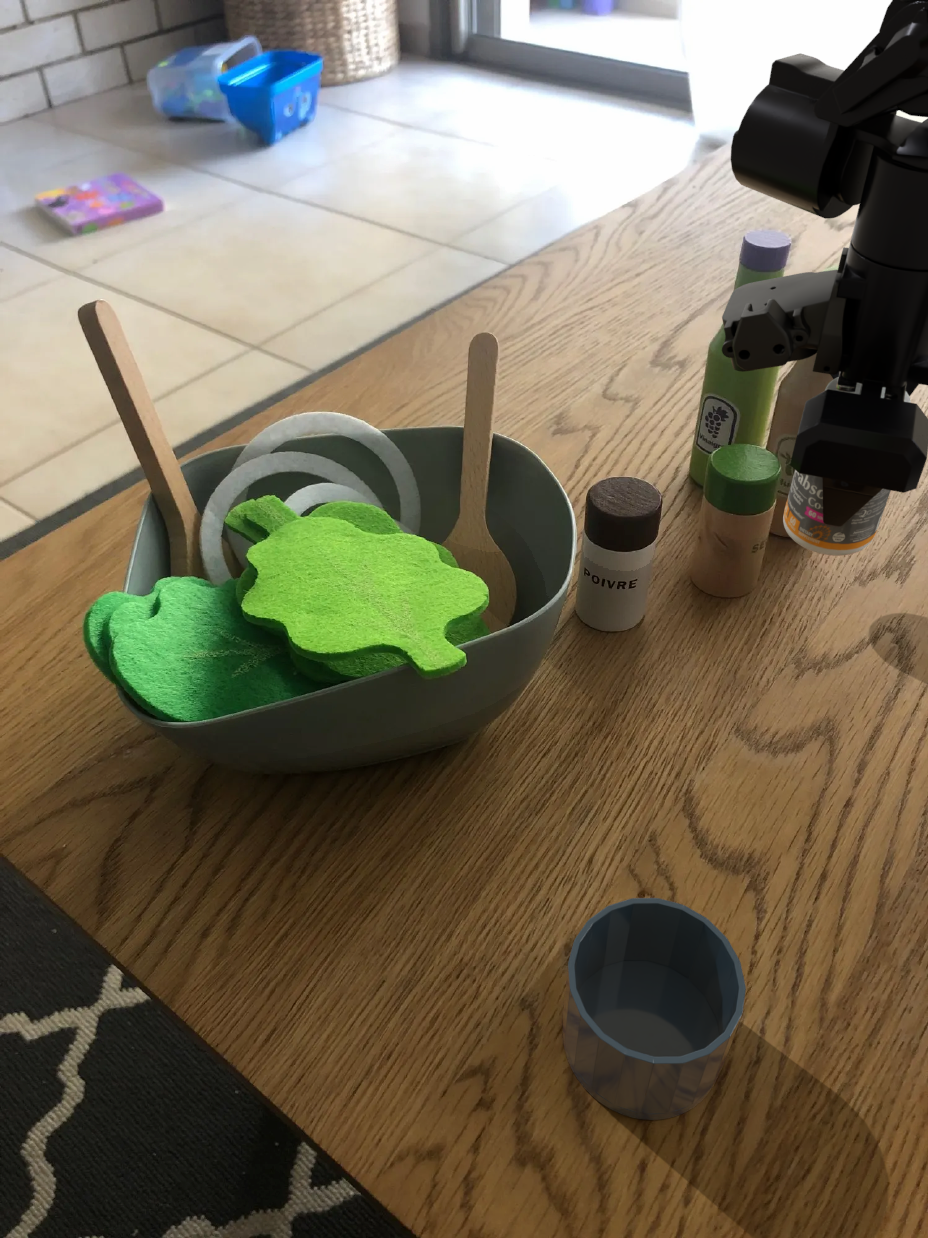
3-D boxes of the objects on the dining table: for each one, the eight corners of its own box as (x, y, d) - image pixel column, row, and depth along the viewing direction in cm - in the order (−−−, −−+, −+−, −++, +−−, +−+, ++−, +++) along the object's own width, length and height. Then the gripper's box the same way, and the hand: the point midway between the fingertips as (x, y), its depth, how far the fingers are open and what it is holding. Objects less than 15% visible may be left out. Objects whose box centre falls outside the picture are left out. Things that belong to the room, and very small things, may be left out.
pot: (707, 962, 49) (727, 896, 45) (736, 1120, 43) (761, 1062, 39) (557, 963, 49) (562, 898, 45) (568, 1121, 44) (575, 1064, 39)
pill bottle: (762, 527, 64) (793, 390, 57) (820, 492, 67) (856, 357, 60) (835, 572, 61) (878, 433, 54) (893, 534, 63) (941, 397, 56)
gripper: (776, 164, 59) (734, 395, 70) (714, 305, 47) (674, 559, 58) (978, 185, 56) (901, 424, 67) (969, 342, 44) (877, 603, 55)
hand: (838, 494), depth 62 cm, fingers closed on pill bottle, 6 cm apart
